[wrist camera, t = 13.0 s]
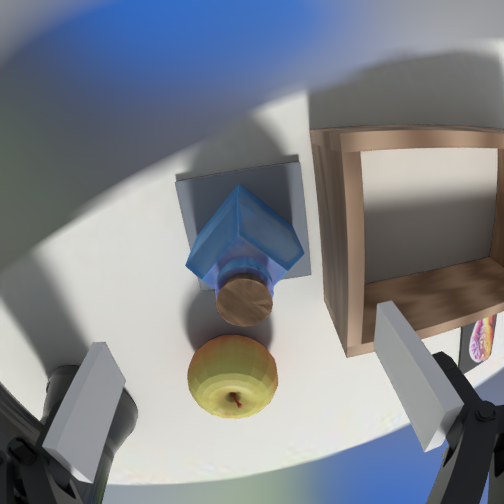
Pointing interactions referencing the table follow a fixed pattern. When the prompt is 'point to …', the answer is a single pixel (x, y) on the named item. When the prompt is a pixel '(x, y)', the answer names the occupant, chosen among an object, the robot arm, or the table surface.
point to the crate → (353, 239)
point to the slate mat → (259, 184)
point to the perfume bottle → (244, 256)
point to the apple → (232, 376)
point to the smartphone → (476, 343)
